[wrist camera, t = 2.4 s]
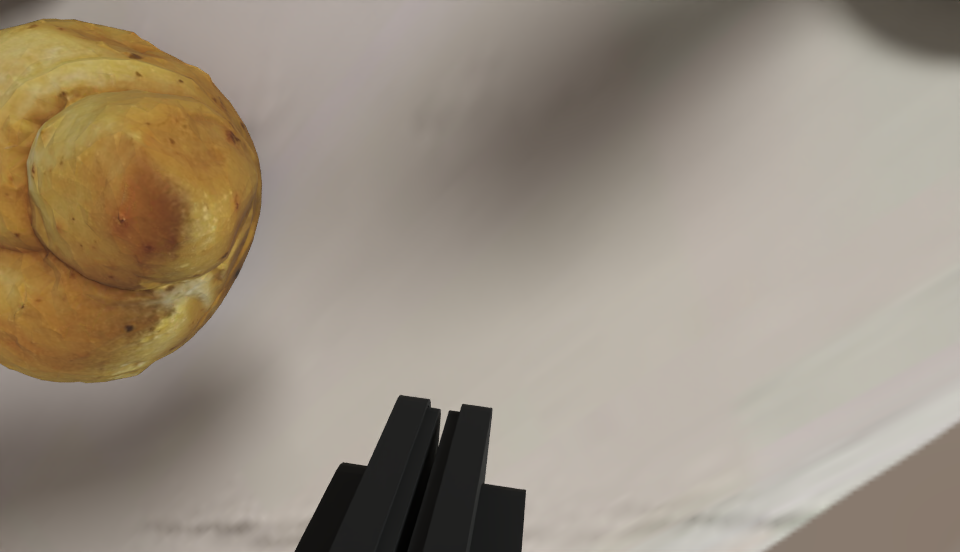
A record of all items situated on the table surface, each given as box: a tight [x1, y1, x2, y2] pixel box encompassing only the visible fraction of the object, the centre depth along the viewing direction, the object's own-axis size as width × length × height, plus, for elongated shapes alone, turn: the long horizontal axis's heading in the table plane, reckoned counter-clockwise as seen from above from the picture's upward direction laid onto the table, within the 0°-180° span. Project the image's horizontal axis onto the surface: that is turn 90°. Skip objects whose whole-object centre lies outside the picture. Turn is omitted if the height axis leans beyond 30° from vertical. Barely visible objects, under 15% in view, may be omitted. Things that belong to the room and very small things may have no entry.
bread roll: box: [0, 19, 262, 383], centre depth 20 cm, size 13×10×8 cm
